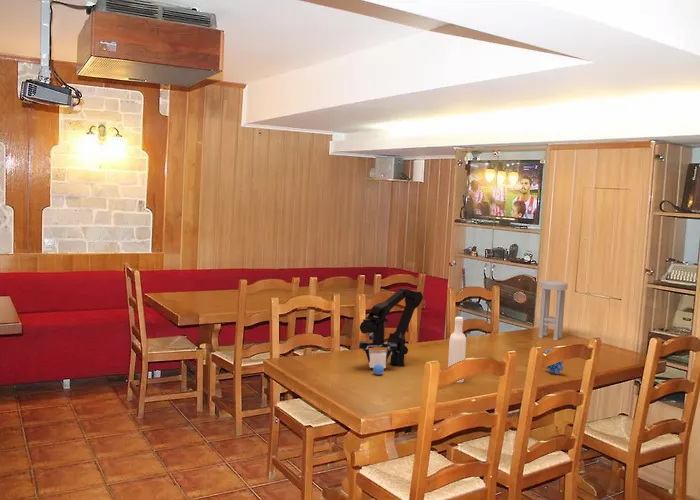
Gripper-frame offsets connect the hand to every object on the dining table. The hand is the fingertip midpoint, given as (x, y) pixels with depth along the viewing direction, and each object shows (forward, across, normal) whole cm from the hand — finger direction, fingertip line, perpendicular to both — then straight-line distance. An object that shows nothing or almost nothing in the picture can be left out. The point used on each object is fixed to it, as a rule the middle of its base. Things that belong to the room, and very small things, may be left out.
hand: (377, 362), depth 327 cm
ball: (+1, 0, +10) cm, 11 cm away
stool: (+4, -114, -88) cm, 144 cm away
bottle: (+3, -36, +16) cm, 39 cm away
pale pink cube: (+2, 0, 0) cm, 2 cm away
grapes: (+3, -87, -2) cm, 87 cm away
